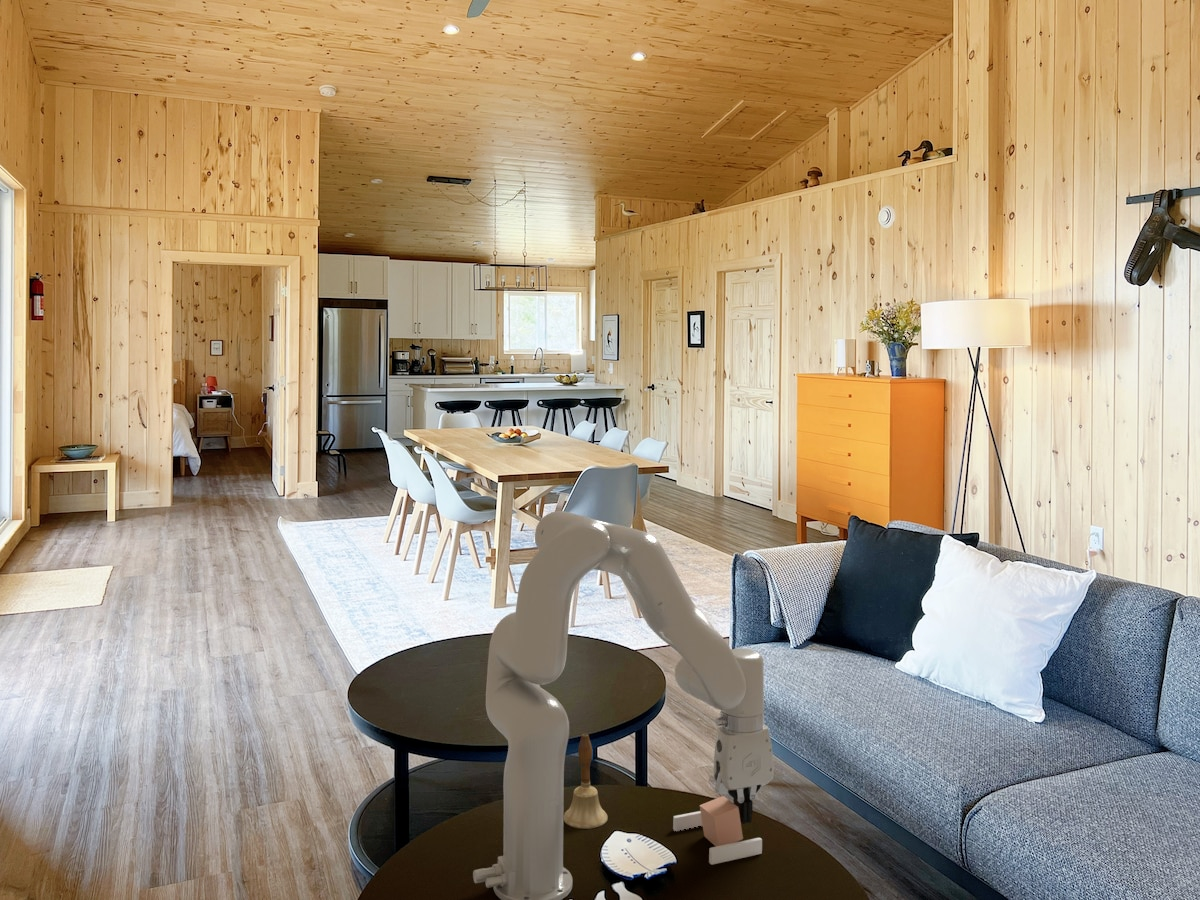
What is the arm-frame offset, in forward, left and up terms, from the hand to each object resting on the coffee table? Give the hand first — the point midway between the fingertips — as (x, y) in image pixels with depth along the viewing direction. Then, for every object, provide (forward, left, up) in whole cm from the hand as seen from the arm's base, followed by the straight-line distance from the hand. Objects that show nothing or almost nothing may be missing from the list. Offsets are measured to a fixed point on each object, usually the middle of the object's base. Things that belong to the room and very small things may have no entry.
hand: (743, 820), depth 164 cm
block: (-4, 0, -3) cm, 5 cm away
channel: (-5, 0, -3) cm, 6 cm away
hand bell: (-23, +17, -3) cm, 29 cm away
